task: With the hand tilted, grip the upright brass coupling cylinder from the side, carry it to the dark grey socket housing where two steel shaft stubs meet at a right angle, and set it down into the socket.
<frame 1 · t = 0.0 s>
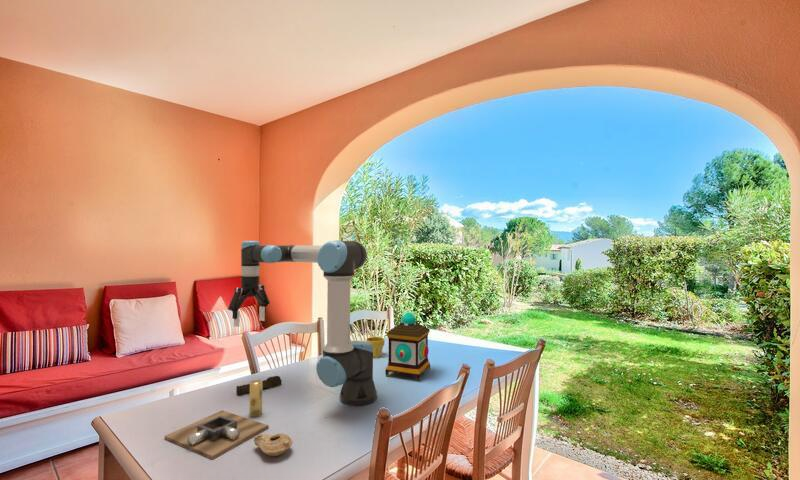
hand: (249, 323, 164), 28 cm above the table, tool pointing down, fingers open, 13 cm apart
decorative lantern: (408, 374, 182), on the table
socket housing: (217, 435, 122), resting on mounting board
coupling: (255, 414, 137), on the table
pottery oil lamp: (272, 452, 113), on the table
hand tool: (259, 390, 161), on the table
plant pot: (375, 356, 209), on the table
mounting board: (218, 433, 123), on the table
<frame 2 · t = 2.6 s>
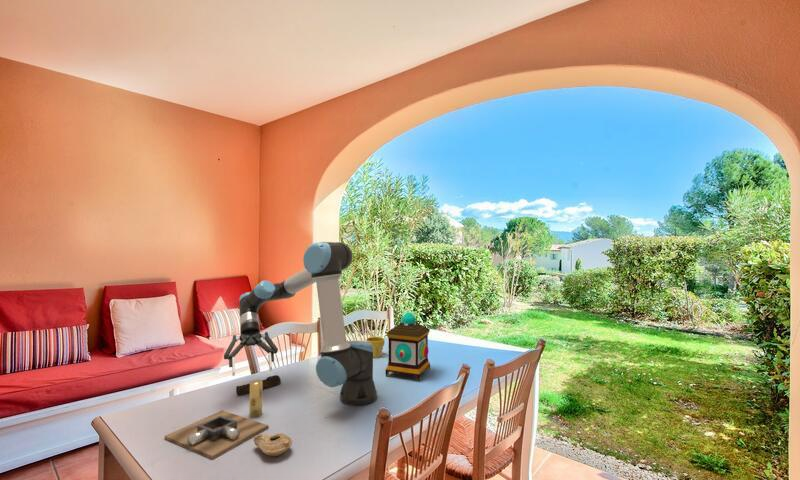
hand: (252, 371, 145), 13 cm above the table, tool tilted 45°, fingers open, 13 cm apart
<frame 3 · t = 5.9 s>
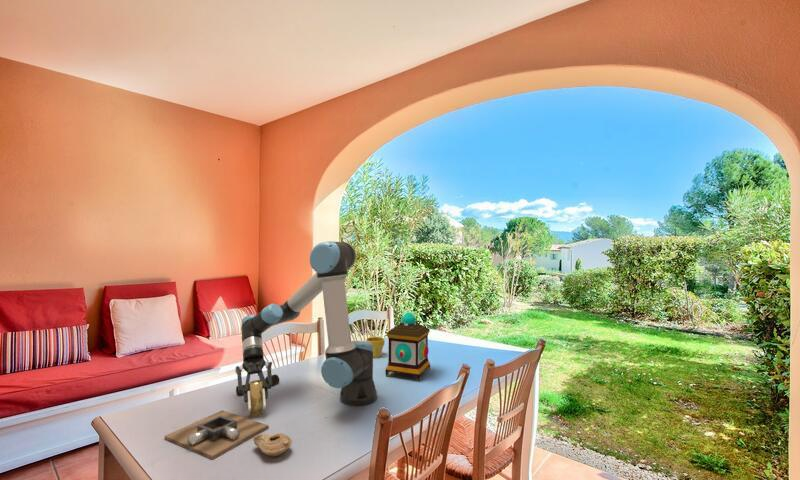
hand: (257, 408, 133), 4 cm above the table, tool tilted 45°, fingers closed on coupling, 4 cm apart
coupling: (255, 414, 137), on the table, touching gripper
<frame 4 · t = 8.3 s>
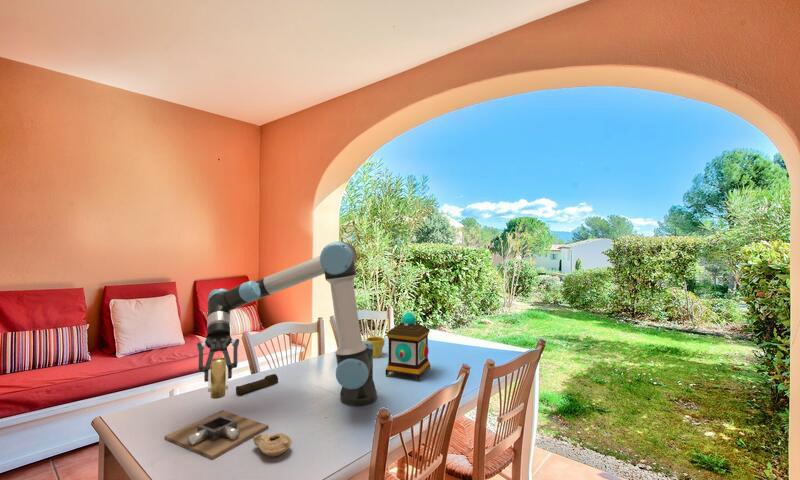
hand: (218, 388, 119), 16 cm above the table, tool tilted 45°, fingers closed on coupling, 4 cm apart
coupling: (217, 395, 123), point 13 cm above the table, touching gripper
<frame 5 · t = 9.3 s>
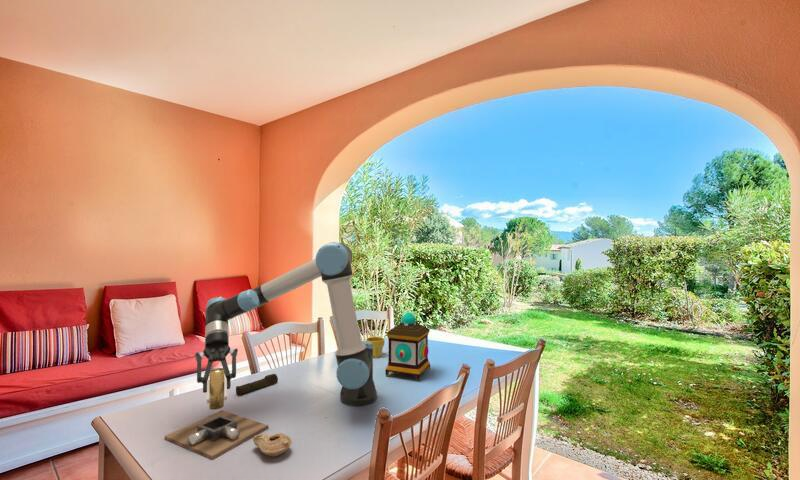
hand: (216, 399, 119), 13 cm above the table, tool tilted 45°, fingers closed on coupling, 4 cm apart
coupling: (216, 406, 122), point 9 cm above the table, touching gripper
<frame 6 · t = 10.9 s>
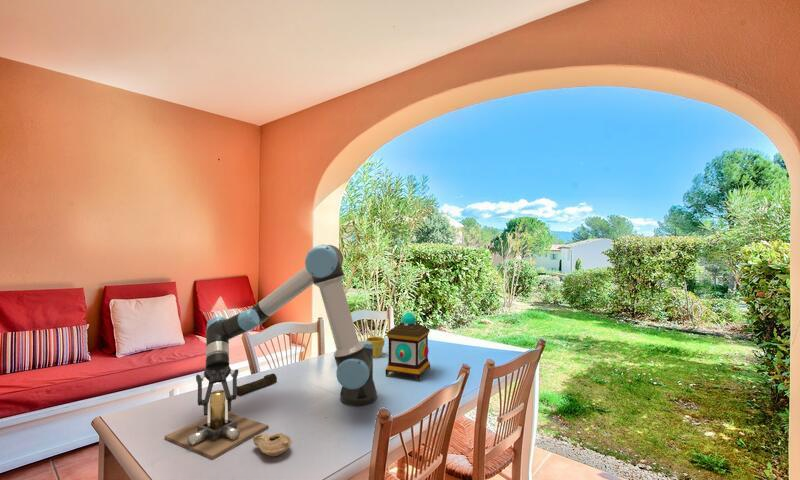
hand: (217, 422, 118), 6 cm above the table, tool tilted 45°, fingers closed on coupling, 4 cm apart
coupling: (217, 429, 122), point 2 cm above the table, touching gripper
when the fingers open (6 cm above the table, at t = 11.1 s): coupling stays where it is, resting on mounting board.
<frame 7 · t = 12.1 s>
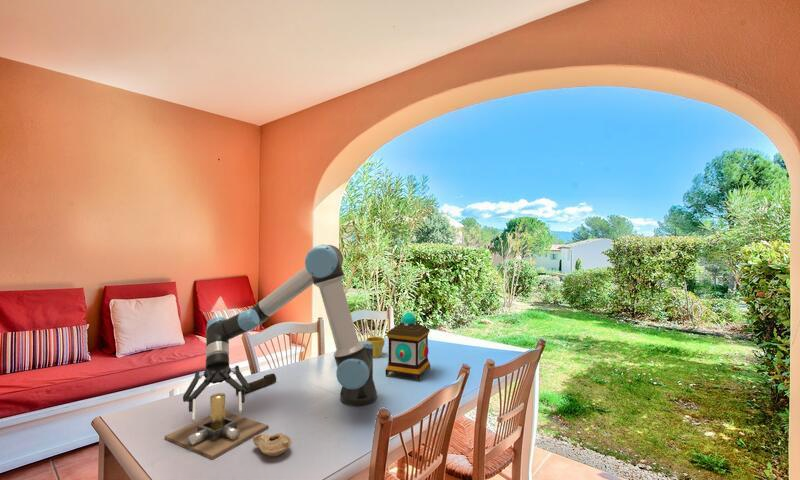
hand: (217, 416, 120), 7 cm above the table, tool tilted 45°, fingers open, 13 cm apart
coupling: (217, 432, 122), point 1 cm above the table, touching mounting board
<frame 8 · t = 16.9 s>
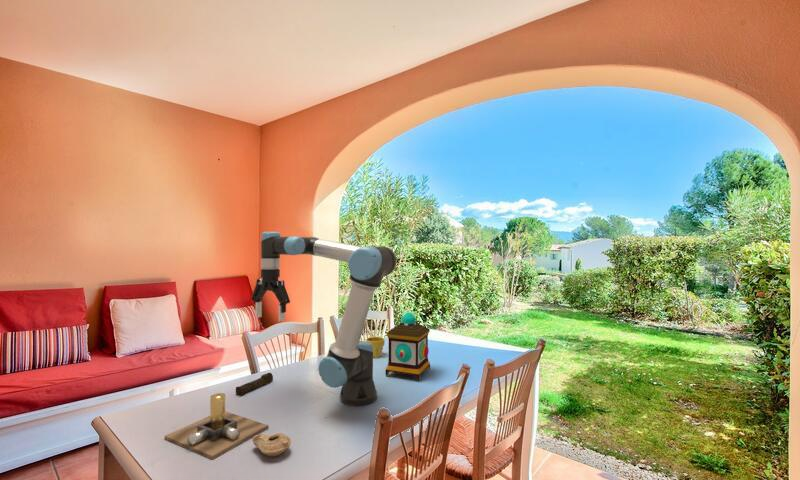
hand: (269, 318, 156), 32 cm above the table, tool pointing down, fingers open, 13 cm apart
at the end: coupling 0.1 cm off-centre on the socket housing, point 1.0 cm above the socket housing's base; coupling tilted 0°; the gripper is holding nothing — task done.
